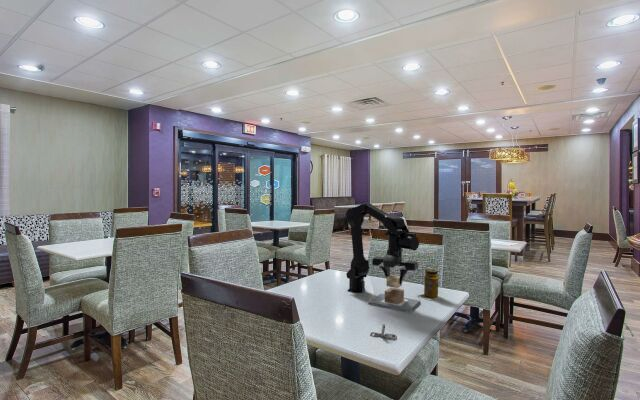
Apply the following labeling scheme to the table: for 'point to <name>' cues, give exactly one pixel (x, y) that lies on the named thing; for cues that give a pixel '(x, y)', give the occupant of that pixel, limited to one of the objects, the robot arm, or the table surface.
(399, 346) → the table surface
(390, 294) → the walnut block
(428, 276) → the condiment
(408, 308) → the board
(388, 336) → the strap clip
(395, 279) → the birch cube
